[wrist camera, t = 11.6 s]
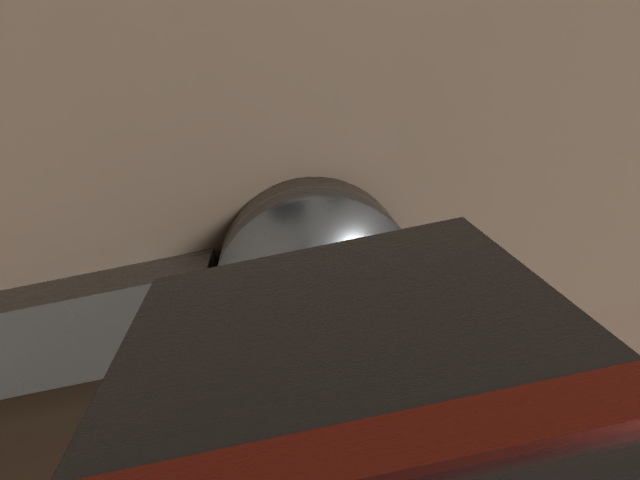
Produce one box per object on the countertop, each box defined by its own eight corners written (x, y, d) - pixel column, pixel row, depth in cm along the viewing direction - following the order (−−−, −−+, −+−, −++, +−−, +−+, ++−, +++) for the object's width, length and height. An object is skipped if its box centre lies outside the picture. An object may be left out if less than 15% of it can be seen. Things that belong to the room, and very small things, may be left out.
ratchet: (-248, 466, 19) (-583, 730, 12) (-342, 303, 18) (-811, 488, 10) (415, 331, 20) (505, 498, 12) (390, 160, 18) (478, 231, 11)
